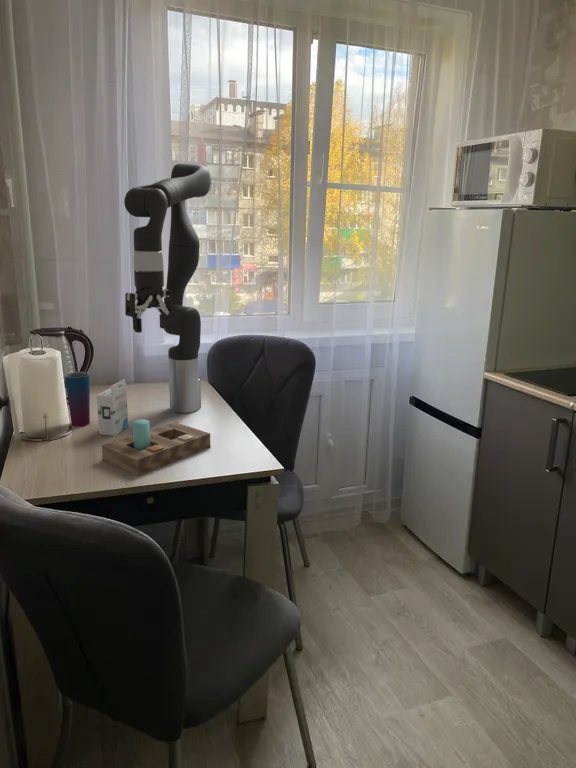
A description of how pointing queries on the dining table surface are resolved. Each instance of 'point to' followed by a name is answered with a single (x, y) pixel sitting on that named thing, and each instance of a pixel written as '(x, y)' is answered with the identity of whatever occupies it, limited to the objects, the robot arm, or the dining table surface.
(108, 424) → the ink box
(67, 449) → the dining table surface
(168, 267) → the robot arm
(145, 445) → the plug
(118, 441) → the board
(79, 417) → the cup
